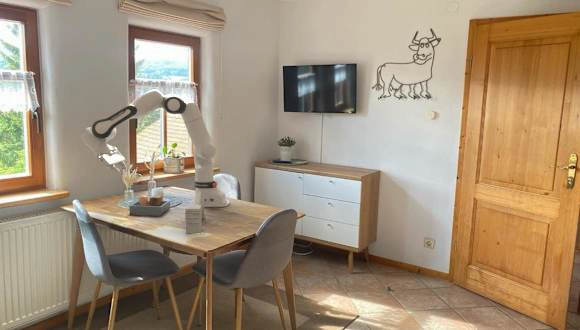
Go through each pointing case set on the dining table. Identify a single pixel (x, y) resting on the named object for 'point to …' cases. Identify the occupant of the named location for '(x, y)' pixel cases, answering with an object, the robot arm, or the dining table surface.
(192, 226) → the supplement box
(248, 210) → the dining table surface
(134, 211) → the box
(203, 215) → the round bodied animal figurine
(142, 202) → the ball
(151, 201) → the walnut block
